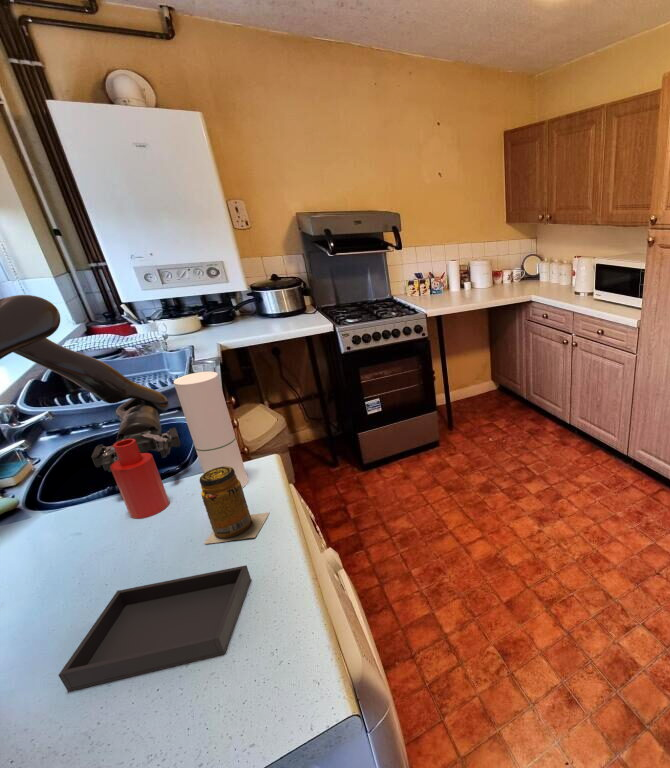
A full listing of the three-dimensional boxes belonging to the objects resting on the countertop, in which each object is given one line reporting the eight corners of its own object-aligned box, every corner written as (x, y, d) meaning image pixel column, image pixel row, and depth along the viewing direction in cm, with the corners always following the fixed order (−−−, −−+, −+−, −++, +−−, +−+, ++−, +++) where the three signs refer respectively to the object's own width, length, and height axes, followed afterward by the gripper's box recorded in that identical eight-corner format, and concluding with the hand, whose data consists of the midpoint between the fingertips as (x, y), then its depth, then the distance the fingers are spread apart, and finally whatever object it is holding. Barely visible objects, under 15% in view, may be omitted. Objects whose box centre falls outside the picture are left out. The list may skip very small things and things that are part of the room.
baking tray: (67, 692, 54) (57, 675, 52) (124, 605, 65) (117, 590, 64) (224, 654, 58) (218, 638, 57) (251, 579, 70) (246, 564, 68)
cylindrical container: (242, 473, 99) (212, 369, 90) (252, 485, 94) (221, 377, 85) (206, 486, 94) (170, 378, 85) (214, 500, 89) (177, 387, 80)
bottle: (123, 521, 84) (94, 453, 78) (139, 502, 89) (113, 437, 84) (161, 515, 85) (135, 448, 80) (174, 496, 91) (151, 432, 85)
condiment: (222, 518, 84) (205, 464, 80) (269, 513, 85) (255, 460, 81) (204, 545, 77) (184, 488, 73) (255, 538, 78) (238, 482, 74)
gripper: (93, 425, 95) (82, 455, 83) (173, 408, 103) (174, 433, 91) (105, 455, 98) (97, 488, 86) (182, 436, 106) (184, 464, 94)
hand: (136, 460), depth 88 cm, fingers open, 8 cm apart
